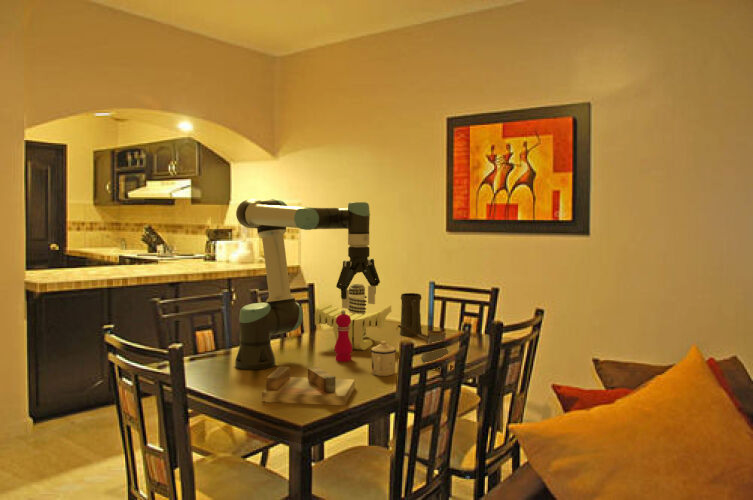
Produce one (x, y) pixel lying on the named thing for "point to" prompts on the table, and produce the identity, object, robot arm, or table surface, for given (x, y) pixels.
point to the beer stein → (410, 314)
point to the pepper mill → (343, 338)
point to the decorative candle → (357, 300)
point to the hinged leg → (322, 379)
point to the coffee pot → (433, 337)
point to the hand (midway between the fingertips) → (358, 306)
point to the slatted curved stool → (352, 323)
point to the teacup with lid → (383, 359)
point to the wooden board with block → (304, 390)
